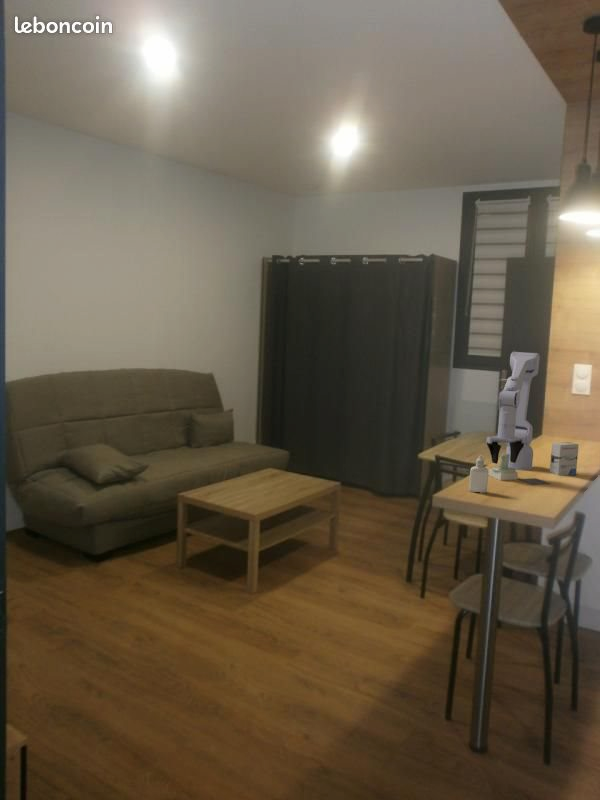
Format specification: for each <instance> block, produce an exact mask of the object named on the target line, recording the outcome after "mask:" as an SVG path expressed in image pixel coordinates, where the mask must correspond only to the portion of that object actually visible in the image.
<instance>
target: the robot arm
mask: <svg viewBox="0 0 600 800" xmlns="http://www.w3.org/2000/svg"><path fill="white" fill-rule="evenodd" d="M509 356H510V358H509V366H510V369H511V371H512V373H511V376H509V377H508V378H507V379H506V383H505V385H504V388H503V390H502V391H500V392H499V394H498V403H497V404H498V411H499V413H498V426H497V435H495V436H487V437H486V445H487V448H488V450H489V453H490V456H491V462H492V463H493V464H496V465H497V464H498V462H499V457H500V456H499V455H500V450H501V448H502V445H501V444H502V443H504V444H505V445H506V452H505V454H509V463H508V467H512V468H515V469H516V471H521V470H534V467H533V461H534V449H533V447H532V446H531V444H532V441H533V425H532V424H531V423H530V422H529V421H528V420H527V416H528V415H527V414H528V413H527V412H528V407H529V399H530V392H531V383H532V380H533V378H534V377H535V376H536V377H537V376H538V374H539V369H540V368H539V366H540V354H539V353H538V352H525V351H524V352H522V351H521V352H519V351H512V352H511V354H510V355H509ZM499 443H500V444H499Z"/></svg>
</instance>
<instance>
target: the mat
mask: <svg viewBox="0 0 600 800" xmlns="http://www.w3.org/2000/svg"><path fill="white" fill-rule="evenodd" d="M517 480H519V481H520V482H524V483H526V484H528V485H531V486H539V485H540V486H541V485H552V483H550V482H547V481H545V480H543V479H541V478H540V479H539V478H537V477H536V478H535V477H534V478H517Z"/></svg>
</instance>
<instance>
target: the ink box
mask: <svg viewBox="0 0 600 800" xmlns="http://www.w3.org/2000/svg"><path fill="white" fill-rule="evenodd" d="M579 446H580V445H579V444H578V443H574V442H571V441H569V442H568V441H566V442H552V443H551V454H550V465H549V474H553V475H556V476H570V475H571V476H577V470H578V469H577V468H578V466H577V465H578V459H579V458H578V455H579Z"/></svg>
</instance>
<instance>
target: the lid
mask: <svg viewBox="0 0 600 800" xmlns="http://www.w3.org/2000/svg"><path fill="white" fill-rule="evenodd" d="M499 462H500V463H499V465H493V466H492V467H491V468H492V470H493V471H495V472H500V473H515V472H517V470H516V469H515V468H512V467H508V463H509V454H506V453H500V460H499Z"/></svg>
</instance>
